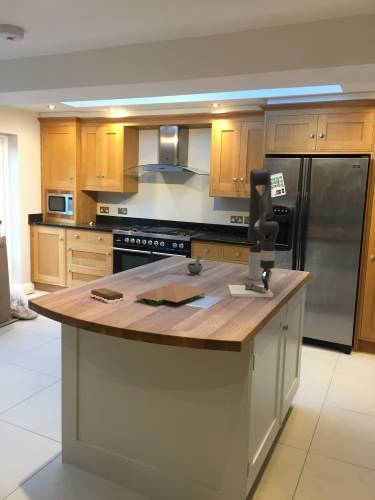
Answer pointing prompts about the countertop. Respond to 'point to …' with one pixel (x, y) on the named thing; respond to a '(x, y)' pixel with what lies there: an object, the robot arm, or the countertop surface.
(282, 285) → the countertop surface
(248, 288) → the metal serving spoon
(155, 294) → the wooden board
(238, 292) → the dial plate
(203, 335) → the countertop surface
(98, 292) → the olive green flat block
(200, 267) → the mortar and pestle
